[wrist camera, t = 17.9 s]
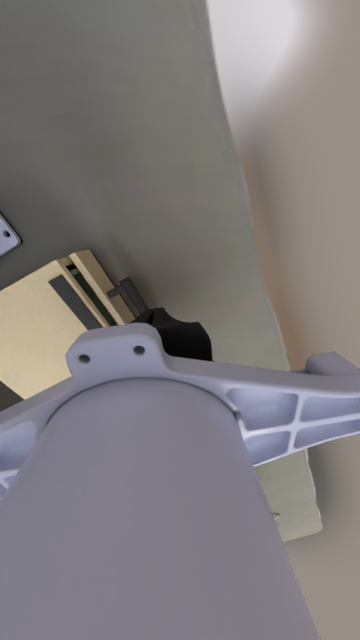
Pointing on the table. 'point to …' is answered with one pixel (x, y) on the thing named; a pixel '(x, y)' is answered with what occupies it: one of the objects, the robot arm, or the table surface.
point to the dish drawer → (42, 327)
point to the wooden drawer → (105, 290)
